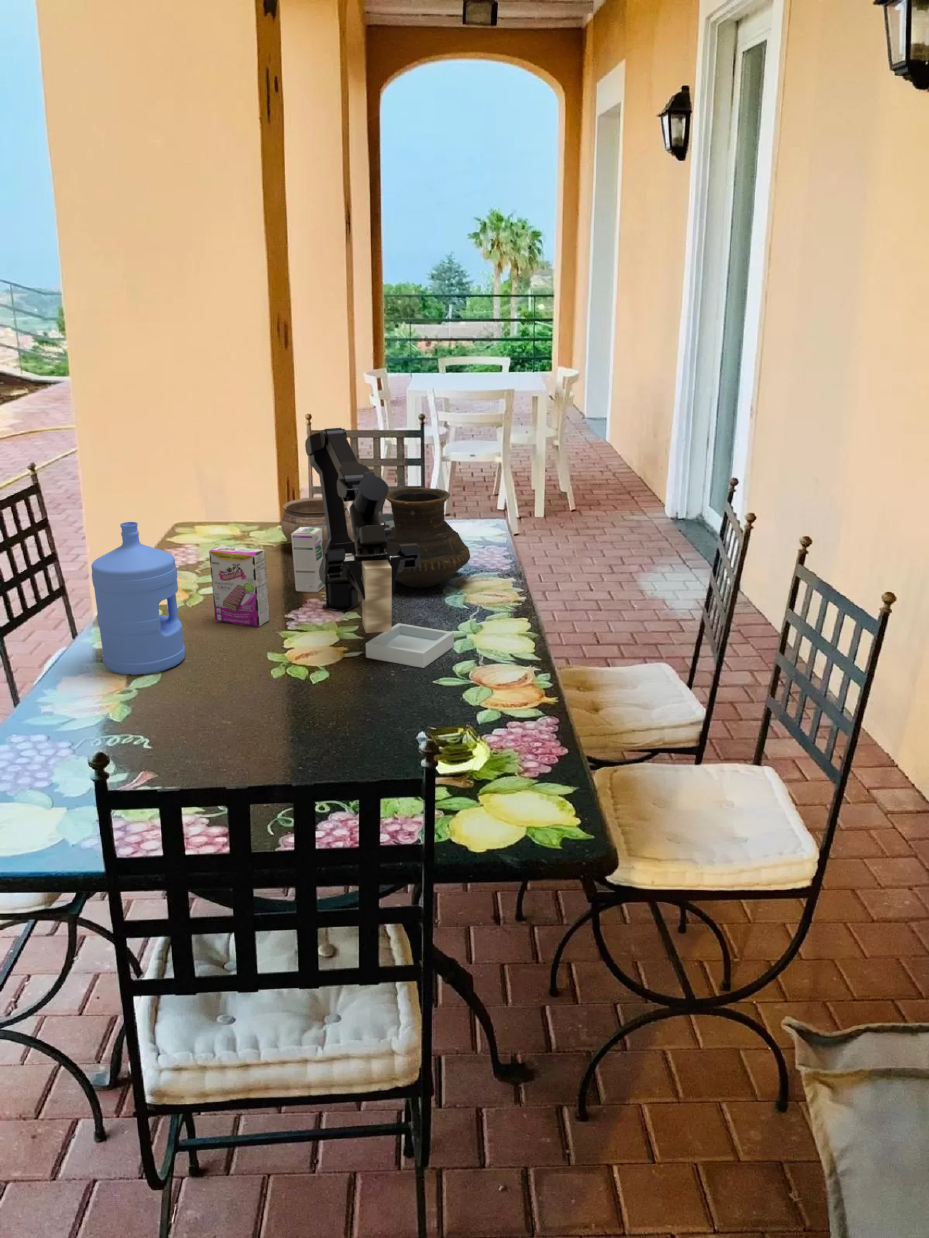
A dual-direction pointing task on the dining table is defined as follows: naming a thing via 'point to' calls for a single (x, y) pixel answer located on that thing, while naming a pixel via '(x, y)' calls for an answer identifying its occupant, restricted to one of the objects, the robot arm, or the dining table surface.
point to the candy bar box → (239, 585)
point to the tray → (410, 645)
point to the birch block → (377, 596)
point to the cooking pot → (308, 517)
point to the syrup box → (307, 558)
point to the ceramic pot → (425, 536)
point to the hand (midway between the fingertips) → (378, 597)
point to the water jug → (137, 607)
